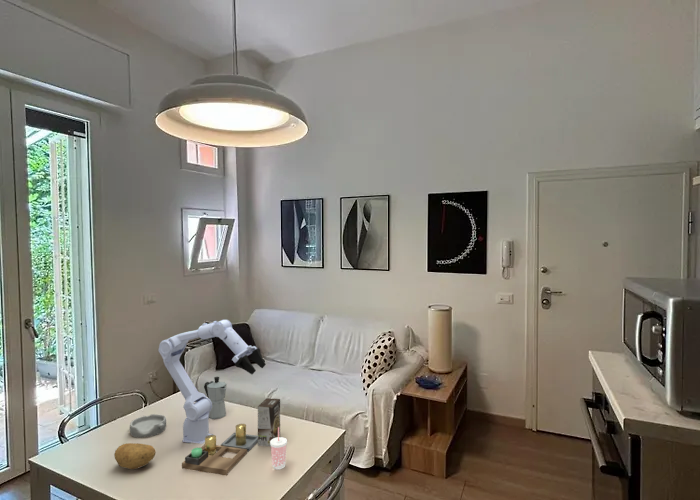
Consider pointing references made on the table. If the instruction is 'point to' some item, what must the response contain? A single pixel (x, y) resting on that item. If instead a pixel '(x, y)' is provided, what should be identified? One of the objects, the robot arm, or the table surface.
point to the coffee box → (268, 421)
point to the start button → (196, 453)
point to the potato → (134, 455)
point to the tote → (250, 442)
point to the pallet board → (214, 460)
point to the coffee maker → (216, 398)
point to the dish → (147, 425)
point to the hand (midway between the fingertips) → (259, 369)
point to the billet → (240, 434)
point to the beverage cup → (278, 451)
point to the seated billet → (210, 444)
